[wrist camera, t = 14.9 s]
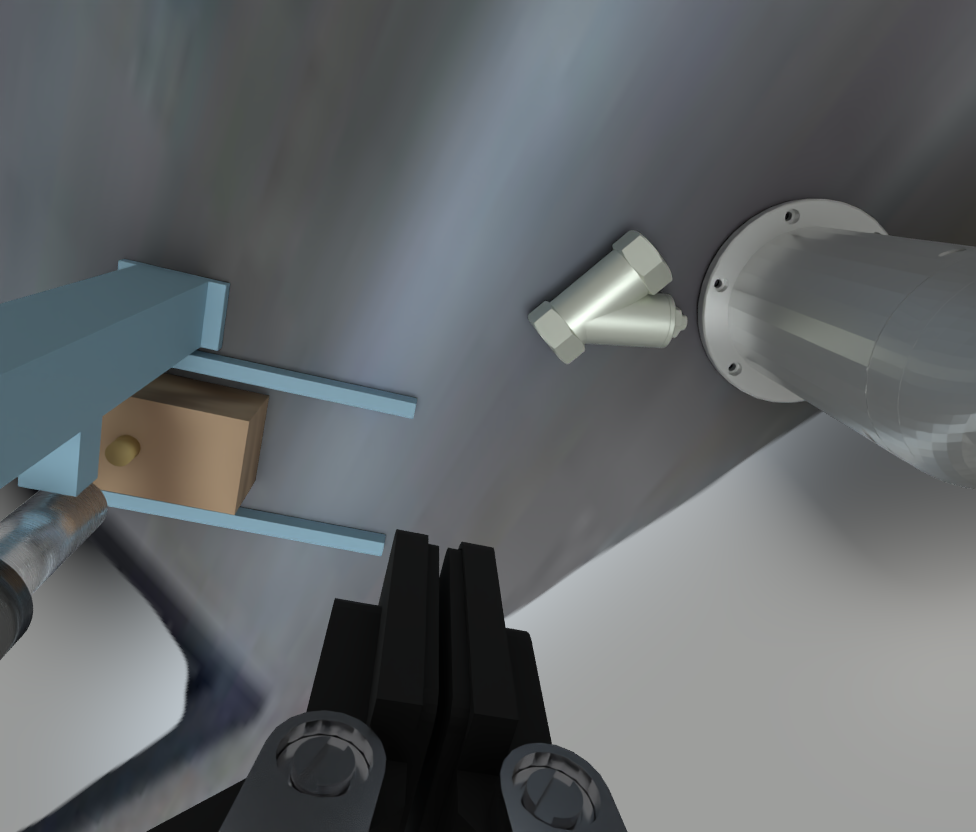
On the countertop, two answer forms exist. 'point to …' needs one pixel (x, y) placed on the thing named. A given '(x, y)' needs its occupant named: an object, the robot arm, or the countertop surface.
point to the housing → (183, 444)
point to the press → (136, 385)
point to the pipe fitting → (613, 303)
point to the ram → (40, 550)
